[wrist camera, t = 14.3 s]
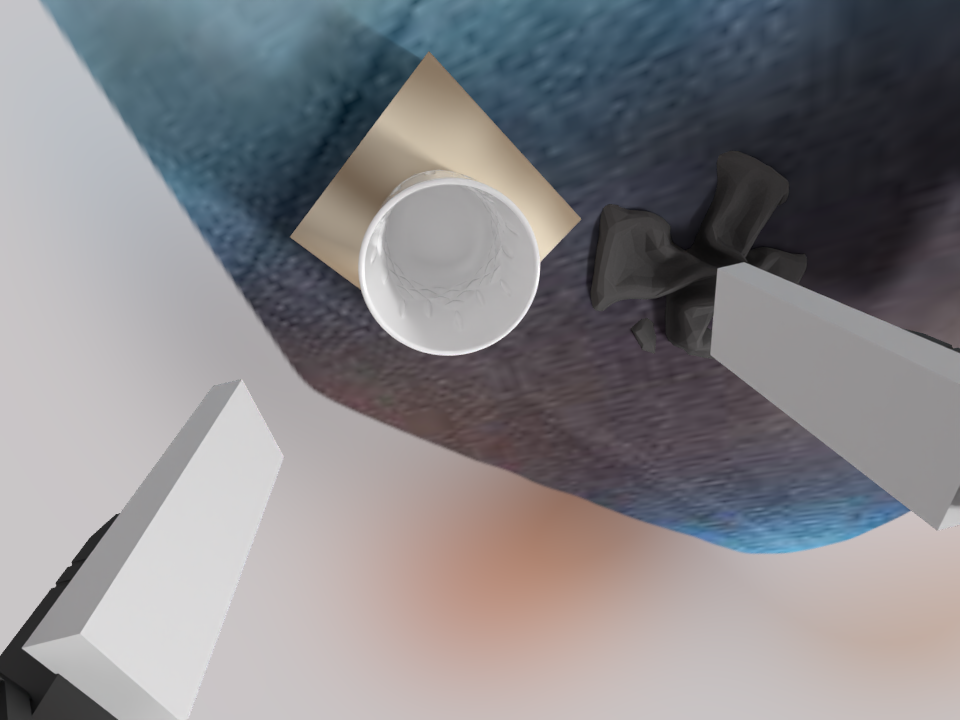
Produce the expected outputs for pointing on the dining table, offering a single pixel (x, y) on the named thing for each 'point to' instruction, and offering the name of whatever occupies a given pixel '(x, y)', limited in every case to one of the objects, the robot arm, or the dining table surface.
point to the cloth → (691, 253)
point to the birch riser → (427, 169)
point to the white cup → (448, 264)
